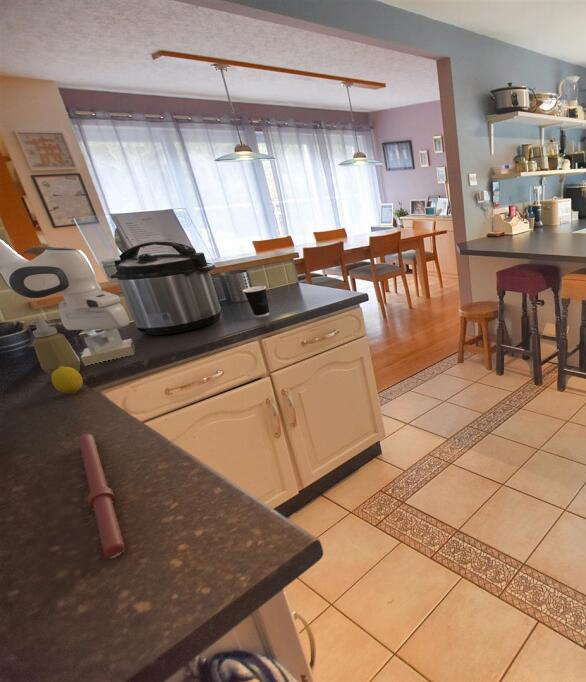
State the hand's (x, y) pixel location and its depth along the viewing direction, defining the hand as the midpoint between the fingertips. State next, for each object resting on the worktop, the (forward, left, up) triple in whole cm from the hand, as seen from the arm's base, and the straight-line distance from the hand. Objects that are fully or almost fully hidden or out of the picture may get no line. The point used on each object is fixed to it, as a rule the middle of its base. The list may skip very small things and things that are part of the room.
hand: (104, 341), depth 139 cm
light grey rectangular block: (0, 0, -2) cm, 2 cm away
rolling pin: (+3, -89, -5) cm, 89 cm away
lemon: (-6, -29, -5) cm, 30 cm away
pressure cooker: (+21, +21, -5) cm, 30 cm away
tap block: (0, 0, -5) cm, 5 cm away
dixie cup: (+46, +8, -5) cm, 47 cm away
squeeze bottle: (-10, -9, -5) cm, 15 cm away
